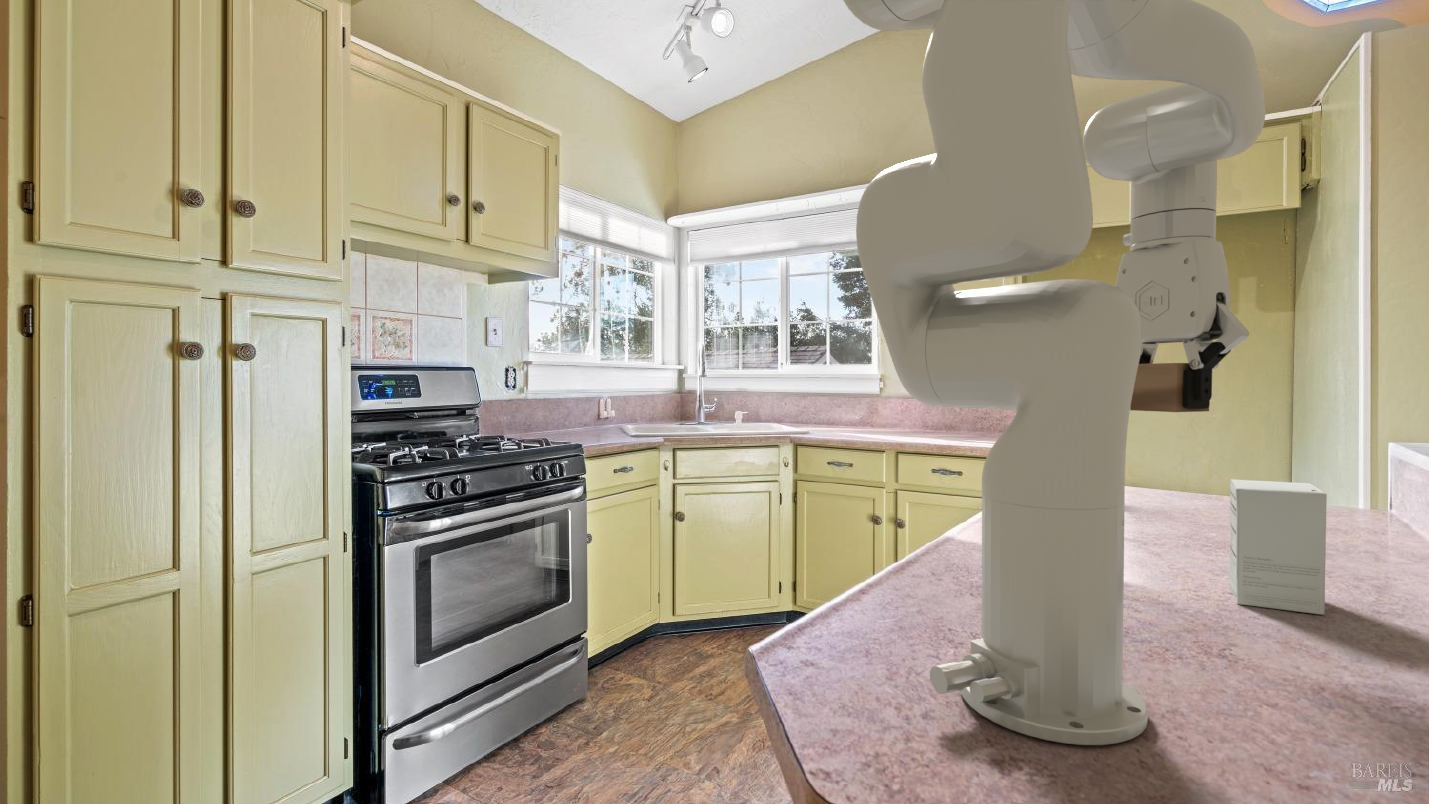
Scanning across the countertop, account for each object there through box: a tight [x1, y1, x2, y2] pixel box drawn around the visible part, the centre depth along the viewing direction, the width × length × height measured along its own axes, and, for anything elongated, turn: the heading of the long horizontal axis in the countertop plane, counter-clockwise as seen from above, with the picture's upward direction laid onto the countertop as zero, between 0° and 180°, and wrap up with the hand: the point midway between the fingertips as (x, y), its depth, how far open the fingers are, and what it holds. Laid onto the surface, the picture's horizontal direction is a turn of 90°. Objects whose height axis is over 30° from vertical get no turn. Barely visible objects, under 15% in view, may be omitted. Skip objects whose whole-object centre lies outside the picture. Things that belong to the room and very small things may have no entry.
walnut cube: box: [1130, 362, 1210, 413], centre depth 72 cm, size 5×5×5 cm
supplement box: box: [1228, 478, 1328, 616], centre depth 74 cm, size 7×7×13 cm
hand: (1168, 405), depth 73 cm, fingers closed on walnut cube, 5 cm apart
